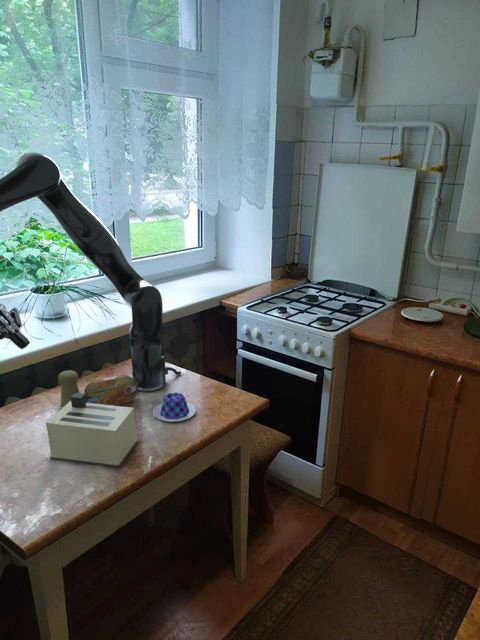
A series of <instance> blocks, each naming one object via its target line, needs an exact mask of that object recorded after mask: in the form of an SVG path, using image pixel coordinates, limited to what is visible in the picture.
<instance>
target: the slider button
mask: <svg viewBox="0 0 480 640" xmlns="http://www.w3.org/2000/svg"><path fill="white" fill-rule="evenodd" d="M71 404H72V407H75V408H83V407H84V406H85V405H86V396H85V394H84V393H82V392H80V393H75V394H74V395H72V396H71Z"/></svg>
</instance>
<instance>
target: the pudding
mask: <svg viewBox="0 0 480 640" xmlns="http://www.w3.org/2000/svg"><path fill="white" fill-rule="evenodd" d="M196 412H197V409H196V406H195V405H194V404H192V403H190V402H188V401H187V400H186V397H185V396H184V394H183V393H180V392H168V393H167V394H165V395H164V396H163V398H162V403H160V404H158V405H157V406H155V407H154V408H153V410H152V414H153V416H154V417H155V418H156V419H158V420H160V421H164V422H181V421H185V420H188V419H190V418H192V417H194V415H195V414H196Z"/></svg>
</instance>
